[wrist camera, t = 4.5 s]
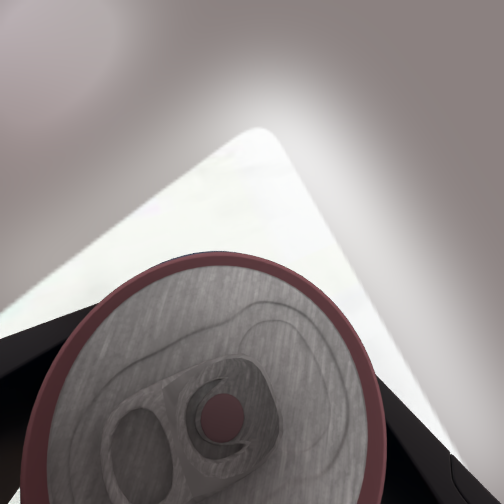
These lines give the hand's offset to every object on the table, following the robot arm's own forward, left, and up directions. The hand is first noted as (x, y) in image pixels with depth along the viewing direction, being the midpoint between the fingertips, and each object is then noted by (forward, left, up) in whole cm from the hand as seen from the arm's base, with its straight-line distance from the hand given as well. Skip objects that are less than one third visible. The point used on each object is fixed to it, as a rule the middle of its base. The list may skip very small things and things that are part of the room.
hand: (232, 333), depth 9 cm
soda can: (-1, 0, -8) cm, 8 cm away
